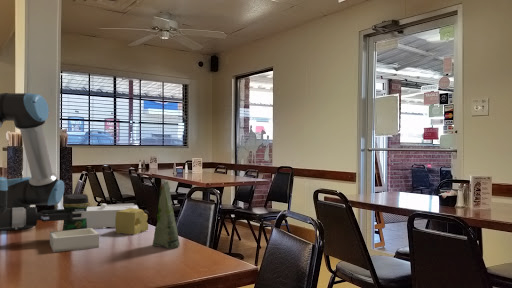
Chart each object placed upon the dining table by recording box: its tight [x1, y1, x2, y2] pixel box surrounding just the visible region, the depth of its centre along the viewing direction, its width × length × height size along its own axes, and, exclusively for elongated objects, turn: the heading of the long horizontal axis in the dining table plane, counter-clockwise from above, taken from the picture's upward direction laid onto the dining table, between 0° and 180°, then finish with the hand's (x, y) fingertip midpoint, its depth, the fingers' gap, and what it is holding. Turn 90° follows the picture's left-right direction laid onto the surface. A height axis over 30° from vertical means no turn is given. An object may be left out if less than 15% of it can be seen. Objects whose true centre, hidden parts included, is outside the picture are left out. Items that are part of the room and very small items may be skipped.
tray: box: [49, 228, 100, 253], centre depth 155 cm, size 13×15×5 cm
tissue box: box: [87, 203, 140, 229], centre depth 199 cm, size 14×25×11 cm, turn 111°
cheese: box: [114, 208, 149, 235], centre depth 183 cm, size 10×11×10 cm
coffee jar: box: [61, 193, 89, 231], centre depth 167 cm, size 10×8×19 cm
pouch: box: [151, 180, 180, 249], centre depth 157 cm, size 11×12×25 cm
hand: (87, 212), depth 169 cm, fingers closed on coffee jar, 8 cm apart
